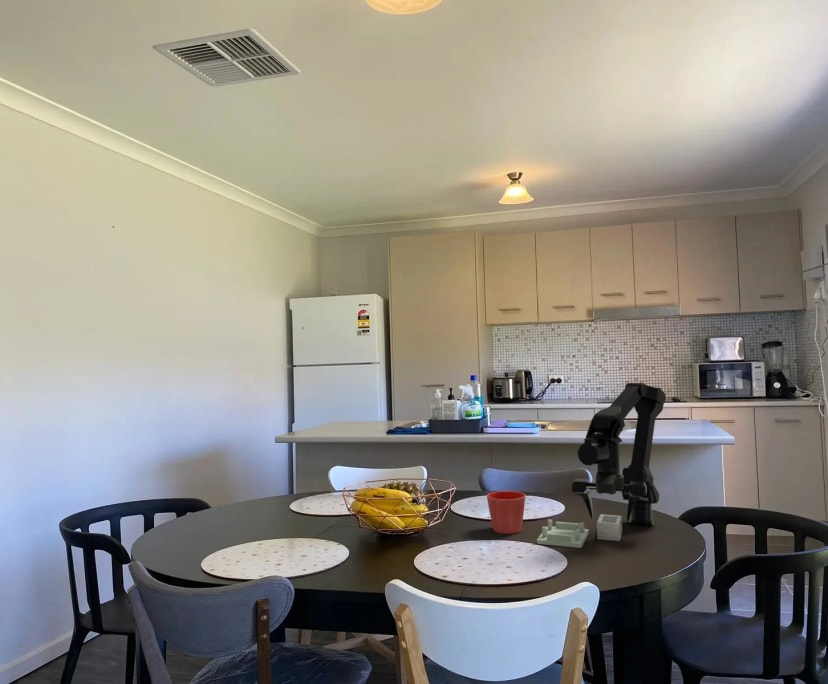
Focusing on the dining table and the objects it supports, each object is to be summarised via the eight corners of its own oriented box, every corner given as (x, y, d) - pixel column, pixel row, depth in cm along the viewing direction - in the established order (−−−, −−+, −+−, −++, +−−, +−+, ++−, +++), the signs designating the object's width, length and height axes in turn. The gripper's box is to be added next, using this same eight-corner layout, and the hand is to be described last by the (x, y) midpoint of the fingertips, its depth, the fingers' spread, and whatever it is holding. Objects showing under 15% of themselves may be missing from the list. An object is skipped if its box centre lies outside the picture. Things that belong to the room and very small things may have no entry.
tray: (547, 529, 171) (547, 516, 171) (588, 533, 167) (588, 520, 167) (537, 543, 158) (536, 529, 158) (581, 547, 154) (580, 533, 154)
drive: (601, 530, 170) (600, 513, 170) (622, 532, 168) (621, 515, 168) (597, 539, 162) (597, 521, 162) (619, 541, 160) (619, 523, 160)
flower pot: (481, 532, 169) (480, 497, 170) (495, 523, 179) (494, 489, 179) (519, 537, 164) (518, 500, 165) (531, 527, 174) (530, 492, 174)
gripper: (567, 463, 162) (569, 524, 161) (643, 467, 154) (645, 530, 154) (574, 457, 172) (575, 514, 171) (646, 460, 165) (647, 519, 164)
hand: (609, 519), depth 165 cm, fingers open, 9 cm apart
